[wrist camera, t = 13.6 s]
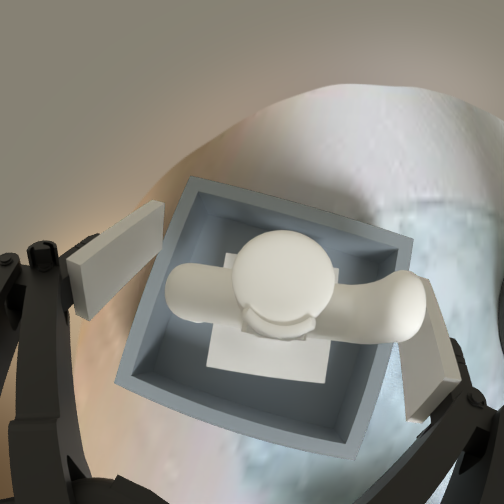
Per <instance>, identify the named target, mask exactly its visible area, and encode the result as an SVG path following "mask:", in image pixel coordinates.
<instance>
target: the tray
mask: <svg viewBox="0 0 504 504" xmlns="http://www.w3.org/2000/svg"><path fill="white" fill-rule="evenodd" d="M276 230H288V231H294V232H298V233H301V234H303V235H306V236H308V237H309V238H311V239H313V240H314V241H316V242H317V243H318V244H319V245H320V246H321V247H322V248H323V249H324V250H325V252H326V253H327V255H328V257H329V258H330V260H331V263H332V266H333V268H339V275H338V284H346V285H359V284H367V283H372V282H375V281H378V280H381V279H383V278H385V277H386V276H388V275H390V274H391V273H393V272H396V271H399V270H407V271H409V266H410V260H411V254H412V247H413V240H414V239H412V238H409V237H406V236H403V235H400V234H397V233H394V232H391V231H388V230H385V229H382V228H379V227H376V226H373V225H369V224H366V223H363V222H360V221H357V220H353V219H350V218H347V217H344V216H340V215H337V214H334V213H330V212H327V211H323V210H320V209H317V208H313V207H310V206H306V205H303V204H299V203H296V202H292V201H288V200H285V199H281V198H277V197H274V196H270V195H266V194H263V193H259V192H255V191H251V190H247V189H243V188H239V187H235V186H231V185H227V184H223V183H219V182H215V181H211V180H207V179H203V178H198V177H194V176H190V178H189V180H188V182H187V184H186V187H185V189H184V191H183V193H182V196H181V198H180V200H179V203H178V205H177V207H176V210H175V212H174V215H173V217H172V219H171V222H170V224H169V227H168V229H167V232H166V234H165V237H164V239H163V243H162V250H161V251H160V252H158V254H157V257H156V260H155V262H154V265H153V267H152V270H151V273H150V276H149V278H148V281H147V284H146V286H145V289H144V292H143V295H142V298H141V300H140V303H139V306H138V309H137V312H136V315H135V318H134V321H133V324H132V327H131V330H130V333H129V336H128V339H127V342H126V345H125V348H124V352H123V355H122V358H121V361H120V365H119V368H118V371H117V375H116V378H115V382H114V383H115V384H117V385H119V386H121V387H123V388H125V389H127V390H129V391H131V392H134V393H136V394H138V395H140V396H142V397H144V398H147V399H149V400H151V401H153V402H156V403H158V404H160V405H163V406H165V407H167V408H170V409H172V410H175V411H177V412H180V413H182V414H185V415H187V416H190V417H193V418H195V419H198V420H201V421H204V422H206V423H209V424H212V425H215V426H218V427H221V428H224V429H227V430H230V431H233V432H236V433H239V434H242V435H246V436H249V437H252V438H256V439H259V440H263V441H266V442H270V443H274V444H278V445H282V446H286V447H290V448H294V449H298V450H302V451H307V452H312V453H316V454H321V455H326V456H332V457H337V458H343V459H349V460H355V458H356V456H357V454H358V451H359V449H360V446H361V443H362V441H363V438H364V436H365V433H366V430H367V428H368V425H369V422H370V419H371V416H372V413H373V411H374V408H375V405H376V402H377V398H378V395H379V392H380V389H381V386H382V383H383V379H384V376H385V372H386V369H387V365H388V362H389V358H390V354H391V351H392V347H393V343H394V342H393V343H380V344H356V343H349V342H342V341H333V340H331V344H330V351H329V358H328V364H327V371H326V377H325V383H315V382H305V381H297V380H288V379H281V378H273V377H266V376H259V375H253V374H246V373H240V372H234V371H229V370H223V369H218V368H212V367H207V366H206V364H207V358H208V352H209V346H210V340H211V334H212V328H213V323H208V322H202V323H195V322H192V321H188V320H184V319H182V318H180V317H178V316H176V315H175V314H174V313H173V312H172V311H171V310H170V309H169V307H168V305H167V303H166V299H165V284H166V281H167V278H168V276H169V274H170V272H171V271H172V270H173V269H174V268H175V267H177V266H179V265H181V264H185V263H197V264H204V265H210V266H217V267H223V266H224V261H225V255H226V253H231V254H238V253H239V252H240V250H241V249H242V248H243V246H244V245H246V244H247V243H248V242H249V241H250V240H252V239H253V238H255V237H256V236H258V235H261V234H263V233H266V232H270V231H276Z"/></svg>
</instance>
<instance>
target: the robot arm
mask: <svg viewBox="0 0 504 504" xmlns="http://www.w3.org/2000/svg"><path fill="white" fill-rule="evenodd" d="M164 209H165V203H163V202H159V201H156V200H151V201H149V202H148V203H146V204H145V205H143V206H142V207H140V208H139V209H137V210H135V211H134V212H132V213H131V214H129V215H128V216H126V217H125V218H124V219H122V220H120V221H119V222H117V223H116V224H115V225H113V226H112V227H110V228H109V229H107V230H106V231H105V232H103V233H101V234H98V233H97V234H94V235H91V236H88V237H87V238H86V239H84V240H82V241H81V242H80V243H78V244H77V245H75V247H73V248H71V249H70V250H68V251H67V252H65V253H64V254H63V255H61V256H60V257H58V251H57V246H56V244H55V243H54V242H52V241H38V242H36V243H33V244H32V245H31V246H29V247H28V249H27V255H28V259H29V265H30V266H27V265H22V264H21V263H20V259H19V256H18V255H17V254H16V253H5V254H2V255H0V396H1V392H2V389H3V385H4V382H5V379H6V376H7V372H8V370H9V366H10V364H11V361H12V358H13V355H14V352H15V349H16V346H17V344H18V341H19V345H18V357H17V372H16V417H15V420H12V421H10V423H9V426H8V439H9V440H8V441H9V457H10V468H11V477H12V485H13V492H14V497H11V498H6V499H1V500H0V504H169V503H168V502H166V501H165V500H163V499H162V498H161V497H159V496H158V495H156V494H155V493H154V492H152V491H151V490H149V489H147V488H144V487H142V486H140V485H138V484H136V483H134V482H132V481H130V480H128V479H126V478H124V477H122V476H120V475H117V477H116V478H115V480H113V479H107V478H95V477H94V478H92V476H91V473H90V470H89V467H88V464H87V462H86V459H85V456H84V452H83V447H82V442H81V436H80V430H79V424H78V417H77V410H76V403H75V395H74V385H73V375H72V363H71V347H70V321H69V320H70V316H69V311H68V309H69V308H70V307H71V305H73V304H74V308H75V312H76V315H78V316H80V317H82V318H84V319H86V320H88V321H90V320H91V319H92V318H93V317H94V316H95V315H96V314H97V313H98V312H99V311H100V310H101V309H102V308H103V307H104V306H105V305H106V304H107V303H108V302H109V301H110V300H111V299H112V298H113V297H114V296H115V295H116V294H117V293H118V292H119V291H120V290H121V289H122V288H123V287H124V286H125V285H126V284H127V283H128V282H129V281H130V280H131V279H132V278H133V277H134V276H135V275H136V274H137V273H138V272H139V271H140V270H141V269H142V268H143V267H144V266H145V265H146V264H147V263H148V262H149V261H150V260H151V259H152V258H153V257H154V256H155V255H156V254H157V253H158V252H160V251H161V250H162V243H163V225H164ZM418 277H419V276H418ZM419 278H420V280H421V281H422V283H423V286H424V289H425V293H426V312H425V316H424V320H423V322H422V325H421V327H420V329H419V330H418V332H417V333H416V334H415V335H414V336H413V337H411V338H410V339H408V340H406V341H403V342H398V346H399V353H400V361H401V370H402V379H403V389H404V400H405V414H406V422H413V423H420V424H422V423H423V422H424V421H425V420H426V419H427V418H428V417H429V416H430V418H431V424H430V425H429V426H428V427H427V428H426V429H425V430H423V431H422V432H421V433H420V434H419V435H418V436H417V437H416V438H417V439H416V441H415V442H414V443H413V444H412V445H411V446H410V447H409V449H408V450H407V451H406V452H405V453H404V454H403V455H402V456H401V457H400V458H399V459H398V461H397V462H396V463H395V464H394V465H393V466H392V467H391V468H390V469H389V470H388V471H387V472H386V473H385V474H384V475H383V476H382V477H381V478H380V479H379V480H378V481H377V482H376V483H375V484H374V485H372V486H371V487H370V488H369V489H368V490H367V491H366V492H365V493H364V494H363V495H362V496H361V497H359V498H358V499H357V500H356V501H355V502H354V503H353V504H425V503H426V502H427V500H428V499H429V498H430V497H431V495H432V494H433V493H434V491H435V490H436V489H437V487H438V486H439V485H440V483H441V482H442V480H443V479H444V478H445V476H446V475H447V473H448V472H449V470H450V469H451V467H452V466H453V464H454V463H455V461H456V460H457V461H456V464H455V467H454V470H453V473H452V476H451V478H450V481H449V484H448V486H447V489H446V491H445V494H444V496H443V498H442V501H441V503H440V504H504V405H503V406H502V407H501V408H500V409H499V410H498V411H497V410H495V409H492V408H490V407H488V406H487V404H486V399H485V397H484V395H483V394H482V393H481V392H480V391H479V390H478V389H476V388H474V387H472V383H471V380H470V376H469V373H468V369H467V366H466V365H465V364H466V363H465V359H464V358H463V353H462V350H461V347H460V346H459V344H458V343H457V341H456V340H455V339H454V338H450V337H449V334H448V331H447V328H446V325H445V322H444V319H443V316H442V313H441V311H440V308H439V305H438V302H437V299H436V297H435V294H434V291H433V289H432V286H431V283H430V281H429V279H426V278H422V277H419ZM499 330H500V338H501V344H502V348H503V352H504V280H503V283H502V288H501V294H500V302H499Z"/></svg>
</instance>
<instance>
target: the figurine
mask: <svg viewBox="0 0 504 504" xmlns="http://www.w3.org/2000/svg"><path fill="white" fill-rule="evenodd" d="M338 275H339V268H333V266H332V263H331V260H330V258H329V257H328V255H327V253H326V252H325V250H324V249H323V248H322V247H321V246H320V245H319V244H318V243H317V242H316V241H314V240H313V239H311V238H309V237H308V236H306V235H303V234H301V233H298V232H294V231H288V230H276V231H270V232H266V233H263V234H261V235H258V236H256V237H255V238H253V239H252V240H250V241H249V242H248V243H247V244H246V245H244V246H243V248H242V249H241V250H240V252H239V253H238V254H231V253H226V255H225V261H224V266H223V267H217V266H210V265H204V264H197V263H185V264H181V265H179V266H177V267H175V268H174V269H173V270H172V271H171V272H170V274H169V276H168V278H167V281H166V284H165V299H166V303H167V305H168V307H169V309H170V310H171V311H172V312H173V313H174V314H175V315H176V316H178V317H180V318H182V319H184V320H188V321H192V322H195V323H202V322H208V323H213V328H212V334H211V340H210V346H209V352H208V358H207V364H206V366H207V367H212V368H218V369H223V370H229V371H234V372H240V373H246V374H253V375H259V376H266V377H273V378H281V379H288V380H297V381H305V382H315V383H325V377H326V371H327V364H328V358H329V351H330V344H331V340H333V341H342V342H349V343H356V344H380V343H393V342H403V341H406V340H408V339H410V338H411V337H413V336H414V335H415V334H416V333H417V332H418V330H419V329H420V327H421V325H422V322H423V320H424V316H425V312H426V293H425V289H424V286H423V283H422V281H421V280H420V278H419V277H418V276H417V275H416V274H414V273H413V272H411V271H407V270H399V271H396V272H393V273H391V274H390V275H388V276H386V277H385V278H383V279H381V280H378V281H375V282H372V283H367V284H359V285H346V284H338Z"/></svg>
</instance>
